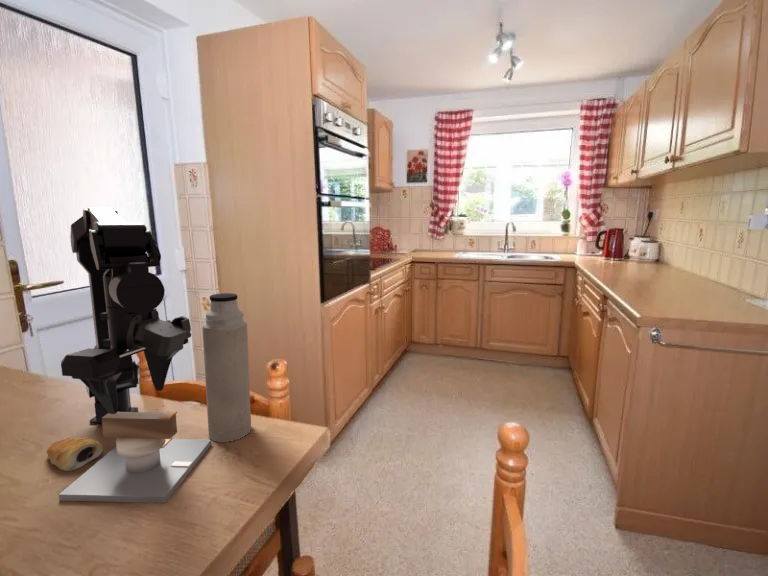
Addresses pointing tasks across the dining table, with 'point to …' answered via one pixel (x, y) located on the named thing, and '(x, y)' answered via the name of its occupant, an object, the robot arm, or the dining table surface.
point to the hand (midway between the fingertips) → (137, 401)
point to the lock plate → (138, 474)
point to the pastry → (73, 452)
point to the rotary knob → (139, 431)
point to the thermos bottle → (226, 369)
